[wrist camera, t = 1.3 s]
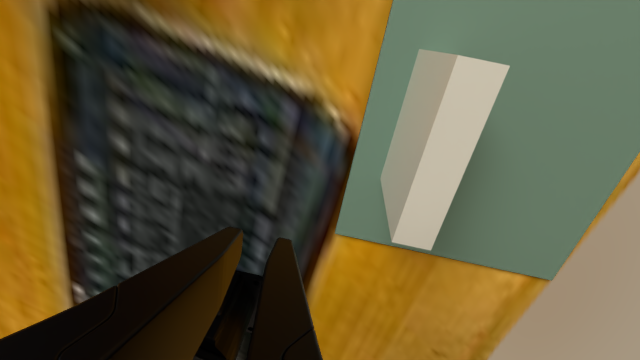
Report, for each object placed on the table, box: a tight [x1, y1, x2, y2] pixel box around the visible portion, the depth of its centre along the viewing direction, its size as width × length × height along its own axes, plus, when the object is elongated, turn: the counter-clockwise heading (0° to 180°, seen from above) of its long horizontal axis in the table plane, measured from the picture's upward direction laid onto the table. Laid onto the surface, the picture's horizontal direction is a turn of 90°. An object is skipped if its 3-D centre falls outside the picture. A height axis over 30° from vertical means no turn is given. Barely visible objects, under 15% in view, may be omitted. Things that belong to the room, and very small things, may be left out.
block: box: [380, 49, 510, 251], centre depth 15 cm, size 8×2×7 cm, turn 170°
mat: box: [335, 0, 640, 280], centre depth 19 cm, size 18×16×1 cm
